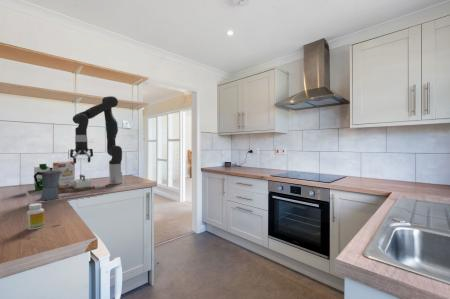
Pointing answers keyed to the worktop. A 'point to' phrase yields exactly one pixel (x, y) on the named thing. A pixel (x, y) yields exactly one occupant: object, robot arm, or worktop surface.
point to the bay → (72, 189)
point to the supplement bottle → (35, 216)
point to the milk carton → (39, 177)
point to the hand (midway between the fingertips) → (82, 162)
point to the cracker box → (65, 173)
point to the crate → (82, 182)
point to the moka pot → (49, 184)
